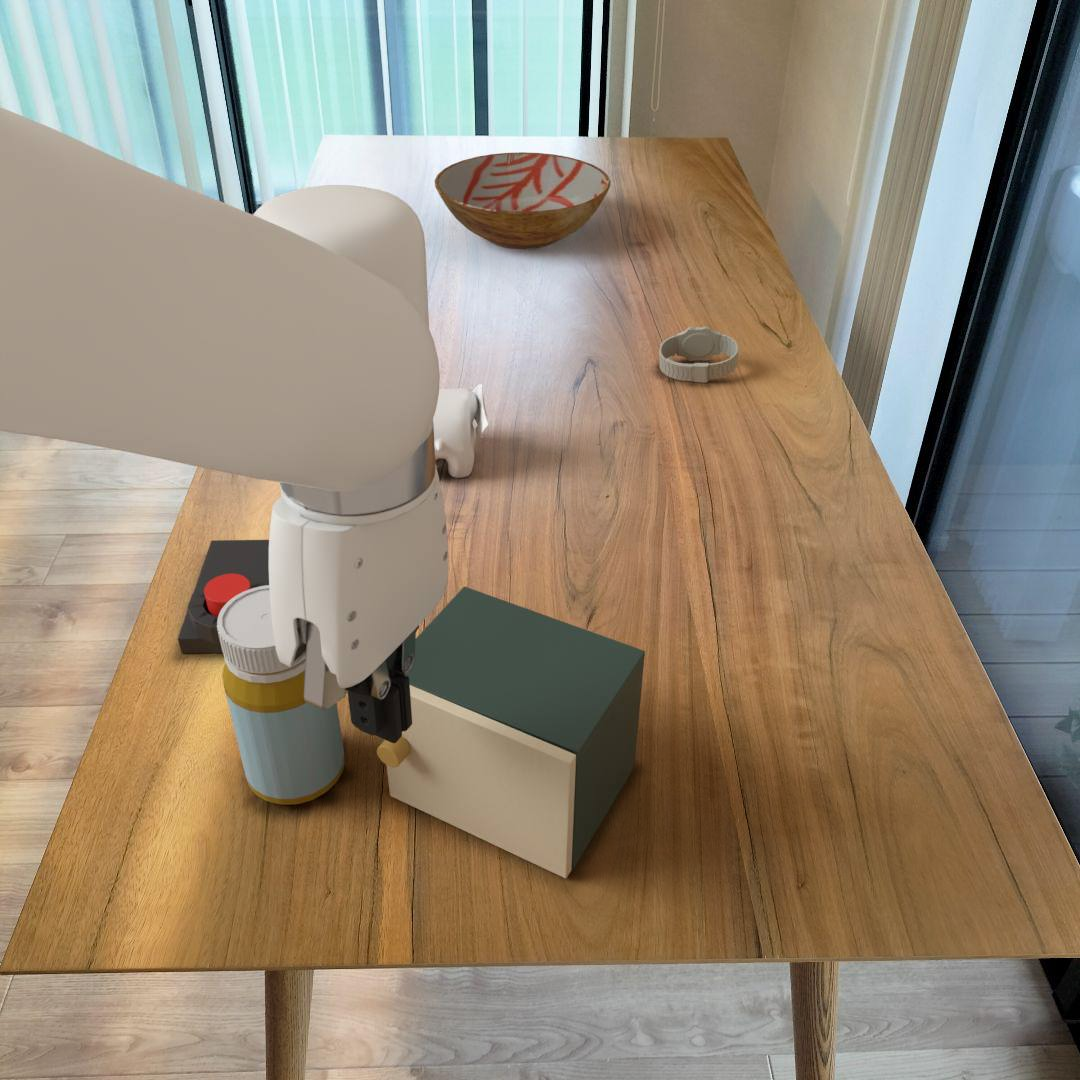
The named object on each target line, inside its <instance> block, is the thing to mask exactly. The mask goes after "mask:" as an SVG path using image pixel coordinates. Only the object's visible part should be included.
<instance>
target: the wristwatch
mask: <svg viewBox="0 0 1080 1080" xmlns="http://www.w3.org/2000/svg"><path fill="white" fill-rule="evenodd" d="M659 345H660V346H659V349H658V355H659V356H658V358H659V369H660V371H661V373H662V374H663V375H664V376H666V377H669V378H670V379H673V380H676V381H683V382H694V383H705V384H706V383H709V381H710V380H716V379H717V380H718V379H721V378H724V377H726V376H727V377H728V375H730V374H732V373H733V372H735V370H737V367H738V361H739V359H738V358H739V345H738V343H737V341H736V340H735V339H734V338H733V337H731V336H729V335H727V334H724V333H723V334H722V332H721V331H716V330H714V329H712V328H710V326H699V327H698V326H697V327H695V326H688V327H687V328H686V329H685V330H683V331H681V332H678V333H676V334H675V335H671V336H670V337H668V338H666V339H664V340H663V341H662V342H661V344H659ZM721 354H722V355H725V356H728V357H729V358H727V359H724V360H721V361H719V362H713V363H710V362H705V361H709V360H710V359H711V358H713V357H715V356H719V355H721ZM674 356H675V357H676V356H678V357H682V358H684V359H686V360H687V361H688V362H693V363H683V362H678V361H674V360H673V359H670V357H674ZM695 361H704V362H695Z"/></svg>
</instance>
